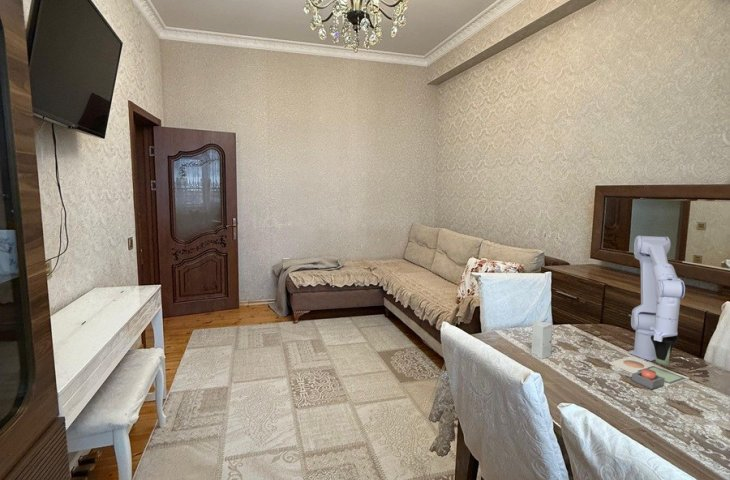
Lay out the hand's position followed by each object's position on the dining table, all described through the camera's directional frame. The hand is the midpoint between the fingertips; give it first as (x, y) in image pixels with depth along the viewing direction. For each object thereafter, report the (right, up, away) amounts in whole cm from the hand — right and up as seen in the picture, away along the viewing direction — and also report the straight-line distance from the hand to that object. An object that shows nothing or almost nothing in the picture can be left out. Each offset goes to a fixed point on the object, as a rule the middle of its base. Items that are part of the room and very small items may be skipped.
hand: (662, 357), depth 124 cm
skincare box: (-32, -5, +17) cm, 36 cm away
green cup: (0, -2, 0) cm, 2 cm away
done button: (-8, -5, -4) cm, 10 cm away
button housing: (-8, -7, -4) cm, 11 cm away
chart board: (-2, -6, +4) cm, 8 cm away
